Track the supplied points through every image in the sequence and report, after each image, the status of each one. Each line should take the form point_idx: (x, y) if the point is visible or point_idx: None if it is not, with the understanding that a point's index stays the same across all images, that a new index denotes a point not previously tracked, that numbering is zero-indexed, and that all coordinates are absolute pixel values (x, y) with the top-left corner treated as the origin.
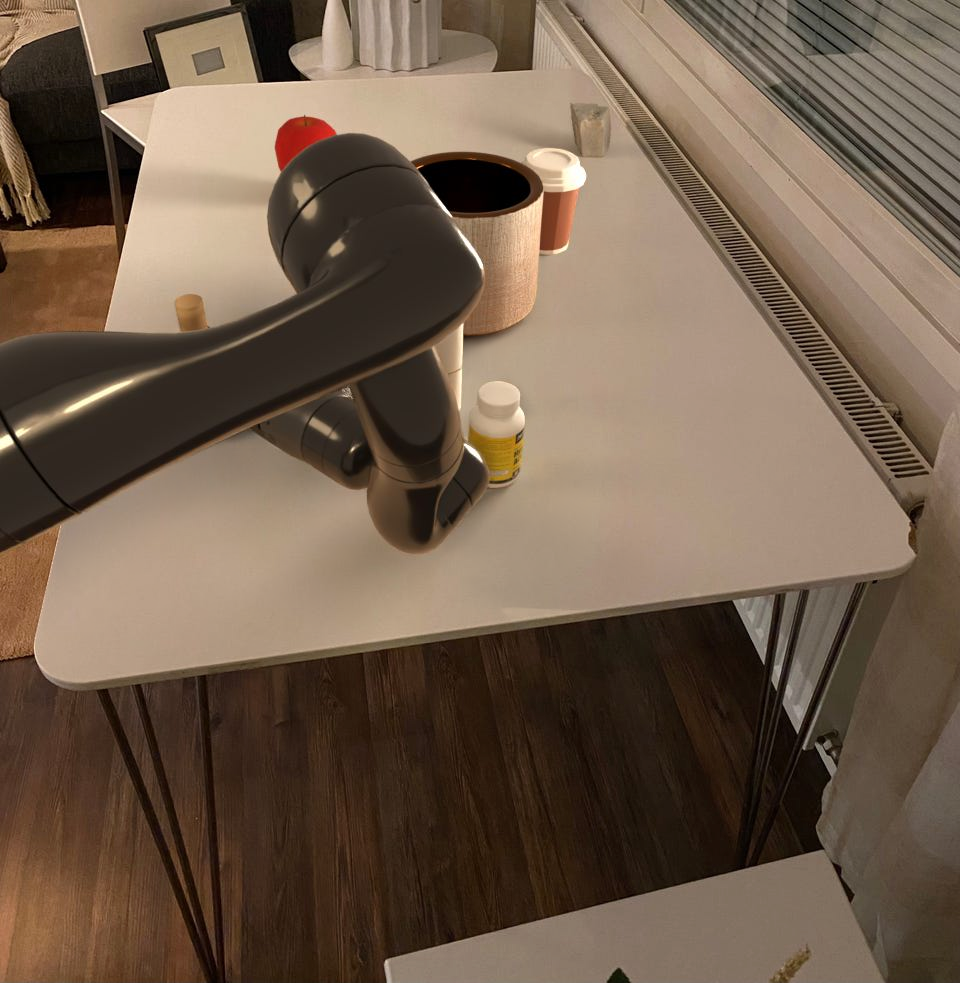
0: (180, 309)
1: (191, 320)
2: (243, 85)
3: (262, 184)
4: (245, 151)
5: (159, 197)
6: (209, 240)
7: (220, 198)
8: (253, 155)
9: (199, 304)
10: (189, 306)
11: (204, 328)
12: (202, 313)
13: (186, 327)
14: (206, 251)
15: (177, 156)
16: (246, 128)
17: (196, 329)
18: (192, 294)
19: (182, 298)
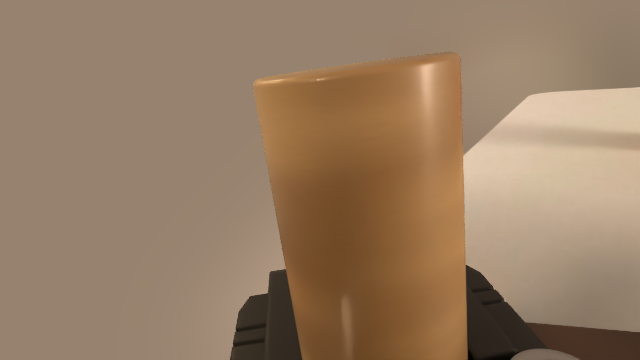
0: (257, 101)
1: (314, 202)
2: (601, 89)
3: (625, 135)
4: (602, 116)
5: (498, 138)
6: (545, 171)
7: (568, 142)
8: (612, 118)
9: (406, 68)
10: (314, 74)
11: (421, 296)
12: (425, 167)
13: (289, 250)
14: (538, 181)
15: (527, 118)
16: (604, 105)
17: (349, 286)
18: (410, 56)
19: (335, 66)
